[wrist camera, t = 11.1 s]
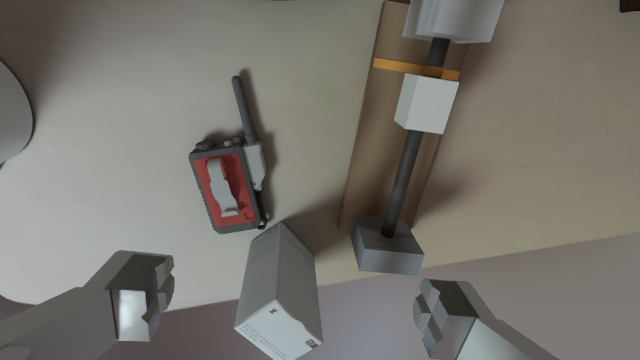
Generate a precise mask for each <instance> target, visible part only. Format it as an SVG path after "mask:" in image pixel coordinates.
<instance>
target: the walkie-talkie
mask: <svg viewBox="0 0 640 360" xmlns="http://www.w3.org/2000/svg"><path fill="white" fill-rule="evenodd" d="M232 84H233V88H234V92H235V96H236V100H237V104H238V107H239V111H240V115H241V119H242V123H243V127H244V130H245V135H244V136H245V140H246V143H244V142H243V141H242V140H240V139H239V137H234V138H233V142H231V140H228V141H225V142H224V143H223V144H217V145H214V142H213V141H212V140H206V141H202V142H199V143H197V144H196V145H195V146H196V148H195V149H194V150H193V151H192V152H191V153H190V154H189V157H188V158H189V161H190V164H191V167H192V169H193V172H194V175H195V178H196V181H197V184H198V187H199V190H201V194H202V198H203V199H204V200H203V201H204V202H205V205H206V209H207V212H208V214H209V216H210V220H211V223H212V227H213V228H214V230H215V231H216V232H218V233H219V234H226V233H232V232H238V231H244V230H251V229H255V228H257V229H261V230H262V229H264V228H265V227H266V224H267V220H266V216H265V213H264V209H263V205H262V201H261V196H260V194H261V190H262V187H263V186H262V180H263V178H264V176H265V174H266V171H267V166H266V161H265V157H264V153H263V149H262V147H263V144H262V140H260V141H257V139H256V134H255V132H254V131H253V127H252V123H251V119H250V115H249V111H248V107H247V103H246V99H245V95H244V91H243V87H242V83H241V79H240V77H239V76H233V77H232ZM257 191H258V192H257ZM262 218H263V222H264V225H259V224H260V223H261V220H262Z"/></svg>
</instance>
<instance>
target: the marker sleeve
mask: <svg viewBox="0 0 640 360" xmlns="http://www.w3.org/2000/svg"><path fill="white" fill-rule="evenodd" d="M458 86H459V82H454V81H449V80H444V79H436V78H430V77H423V76H421V75H415V74H408V73H405V77H404V81H403V85H402V89H401V93H400V97H399V101H398V105H397V109H396V113H395V117H394V121H395V122H397V123H398V124H399V125H401V126H402V127H403V128H405V129H410V130H417V131H424V132H431V133H438V134H443V133H444V130H445V127H446V124H447V120H448V117H449V114H450V111H451V108H452V105H453V101H454V98H455V95H456V92H457V89H458Z"/></svg>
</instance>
